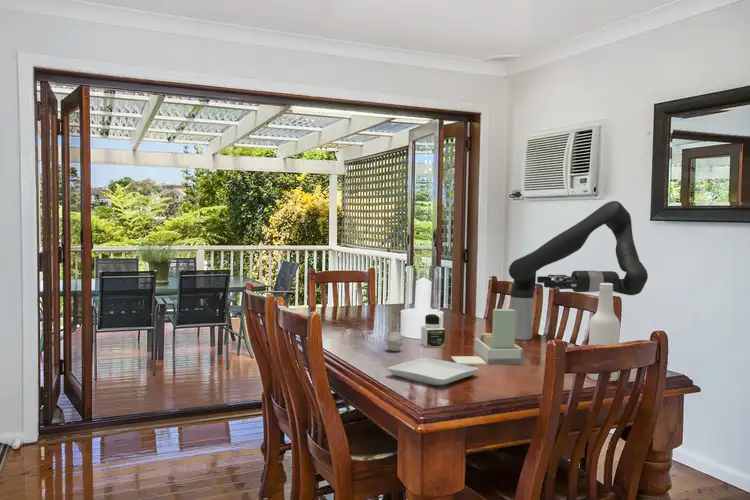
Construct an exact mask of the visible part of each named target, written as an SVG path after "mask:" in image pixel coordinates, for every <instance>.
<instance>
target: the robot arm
mask: <svg viewBox="0 0 750 500" xmlns="http://www.w3.org/2000/svg"><path fill="white" fill-rule="evenodd" d="M603 225H605V226H606V227H607V228H608V229H610V231H611V232H612V233H613V236H614V238H615V241H616V246H615V257H616V260H617V262H618V266H619V269H620V270H621V271H622V272H624V273H625V275H624V277H623V278H620V276H619V274H618V272H616V271H613V270H609V271H608V270H604V271H603V270H601V271H599V270H573V271H572V273H571V276H568V275H567V274H566V275H565V274H548V275H547V276H544V275H543V276H540V275H539V276H537V272H538V271H539V270H541V269H542V268H544V267H547V266H548V265H551V264H553V263H556V262H558V261H560V260H563V259H565V258H567V257H569V256H571V255H572V254H574V253H575V252H578V251H579V250H580V249H582V247H583V246H584V245H585V243H586V241H587V240H588V238H589V237H590V235H591V234H592V232H594V231H596V230H597V229H598V228H601V226H603ZM632 228H633V224H632V217H631V214H630V213H629V211H628V209H626V207H624V206H623V204H622V203H621V202H619V201H617V200H612V201H609V202H606V203H605V204H603V205H602V206H600V207H599V208H598V209H596V210H594V211H593V212H592V213H590V214H589V215H588V216H586V217H585V218H584V219H582V220H581V221H579V222H578V223H576V224H574V225H573V226H571V227H569V228H567V229H566V230H564V231H562V232H561V233H559V234H557V235H556V236H554V237H552V238H551V239H549V240H547V242H545V243H544V244H542V245H541V246H540V247H538V248H537V249H536V250H533V251H532V252H530V253H528V254H526V255H524V256H522V257H519V258H516V259H515V260H513V261H512V262H511V264H510V265H509V267H508V274H509V276H510V278H511V279H513V286H512V288H511V289H510V306H509V309H513V310H515V311H516V322H515V340H519V341H523V340H526V341H527V340H532V339H533V317H534V315H533V313H534V294H535V290H536V282H537V283H538V284H543V287H544V288H555V289H558V290H572V292H574V293H599V292H600V288H599V287H600V283H612V284H613V293H617V294H621V295H626V296H636V295H639V294H640V293H641V292H642V291H643V289H644V287H645V285H646V284H647V281H648V279H649V275H648V271H647V269H646V267H645V266H644V265H643V263H642V261H640V257H639V254H638V251H637V248H636V245H635V241H634V235H633V229H632Z"/></svg>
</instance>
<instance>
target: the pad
mask: <svg viewBox="0 0 750 500" xmlns="http://www.w3.org/2000/svg"><path fill="white" fill-rule="evenodd" d="M450 357H451V360H453V361H454V363H458V364H463V365H468V366H487V364H488V363H487V362H486V361H485V360H483V359H482V358H481V357H480V356H479V355H478V356H473V355H471V356H468V355H467V356H457V355H456V356H455V355H454V356H453V355H452V356H450Z"/></svg>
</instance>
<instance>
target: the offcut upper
mask: <svg viewBox="0 0 750 500" xmlns="http://www.w3.org/2000/svg"><path fill="white" fill-rule="evenodd" d="M479 338H480V339H479V340H481V341H483V342H484V343H492V332H491V333H490V332H489V333H488V332H485V333H482V332H481V333H480V337H479Z"/></svg>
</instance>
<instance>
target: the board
mask: <svg viewBox="0 0 750 500" xmlns="http://www.w3.org/2000/svg"><path fill="white" fill-rule="evenodd" d="M515 322H516V311H515V310H513V309H510V308H494V309H492V332H491V333H492V349H515V344H516V339H515Z"/></svg>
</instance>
